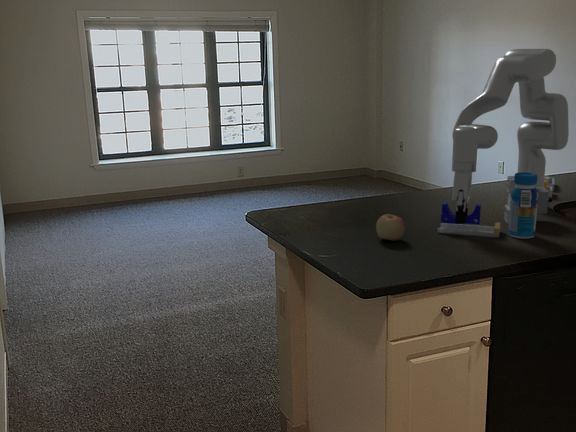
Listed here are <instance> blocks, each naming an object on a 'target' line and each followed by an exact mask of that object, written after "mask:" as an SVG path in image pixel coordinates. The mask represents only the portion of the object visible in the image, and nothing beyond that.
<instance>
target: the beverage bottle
mask: <svg viewBox="0 0 576 432" xmlns="http://www.w3.org/2000/svg"><path fill="white" fill-rule="evenodd" d="M513 176H514V184H515V185H516V186H515V187H514V189H513V190H512V192H511V200H510V216H509V223H508V230H507V231H508V232H507V234H508V236H509V237H512V238H514V239H519V240H520V239H522V240H527V239H533V238H534V237H536V227H537V226H536V225H537V216H538V215H537V214H538V213H537V208H538V201H537V198H538V192H537V190H536V188H535V187H534V186H536V184H537V174H535V173H528V172H520V173H517V172H515V173H514V175H513Z"/></svg>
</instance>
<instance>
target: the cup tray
mask: <svg viewBox="0 0 576 432" xmlns="http://www.w3.org/2000/svg"><path fill="white" fill-rule="evenodd" d="M548 177H549V183H548V184H546V186H552V192H554V191H555V177H550V176H548Z"/></svg>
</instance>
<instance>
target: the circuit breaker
mask: <svg viewBox="0 0 576 432" xmlns="http://www.w3.org/2000/svg"><path fill="white" fill-rule="evenodd" d="M514 176H515V175H507V179H506V185H505V188H506V191H507V194H508V193H509V195H508V196H507V197H508V198H507V204H505V205H504V216H503V218H504V220H505V222H506V224H509V216H510V200H511V192H512V190H513V189H514V187H515V186H516V185H515V184H514ZM534 187H535V186H534ZM535 188H536V190H537V192H538V198H537V201H538V208H537V214H546V215H547V213H548V206H549V205H548V203H553V198H551V197H548V191H547V190H546V189H545V187H535Z"/></svg>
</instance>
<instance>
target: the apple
mask: <svg viewBox="0 0 576 432" xmlns="http://www.w3.org/2000/svg"><path fill="white" fill-rule="evenodd" d="M405 227H406V225H405V222H404V220H403V219H402V218H401V217H400V216H398V215H396V214H390V213H387V214H386V213H385V214H383V215H381V216H379V218H378V219H377V222H376V224H375V230H376V234H377V236H378V237H379V238H380V239H383V240H387V241H394V242H395V241H397V242H398V241H399V240H400V239H402V238H403V236H404V234H405V230H406V228H405Z"/></svg>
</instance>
